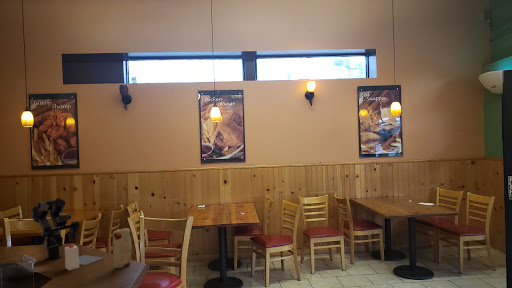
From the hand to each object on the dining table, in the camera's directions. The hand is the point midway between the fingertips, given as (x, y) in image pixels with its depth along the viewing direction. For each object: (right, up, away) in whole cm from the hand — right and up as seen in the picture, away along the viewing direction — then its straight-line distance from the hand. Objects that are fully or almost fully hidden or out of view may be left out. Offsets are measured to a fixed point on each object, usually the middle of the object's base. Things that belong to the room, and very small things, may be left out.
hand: (65, 241), depth 202 cm
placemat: (+7, -13, +7) cm, 16 cm away
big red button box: (+6, -13, -5) cm, 15 cm away
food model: (+33, -12, -6) cm, 36 cm away
